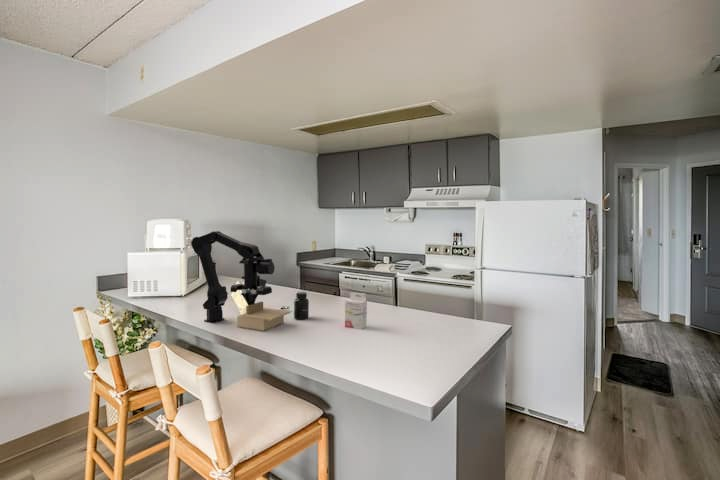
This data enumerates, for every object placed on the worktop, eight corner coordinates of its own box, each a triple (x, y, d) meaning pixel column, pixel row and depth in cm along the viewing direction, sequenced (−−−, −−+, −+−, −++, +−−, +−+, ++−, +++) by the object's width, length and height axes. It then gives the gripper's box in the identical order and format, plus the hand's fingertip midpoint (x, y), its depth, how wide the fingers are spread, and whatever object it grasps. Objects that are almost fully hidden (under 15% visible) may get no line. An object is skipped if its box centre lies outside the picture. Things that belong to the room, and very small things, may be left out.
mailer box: (237, 327, 161) (237, 316, 160) (258, 319, 174) (258, 308, 173) (263, 331, 155) (263, 319, 155) (283, 322, 168) (283, 311, 168)
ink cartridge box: (344, 327, 162) (344, 293, 161) (349, 324, 167) (349, 291, 166) (362, 329, 158) (362, 295, 158) (367, 326, 163) (367, 293, 162)
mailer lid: (242, 316, 159) (242, 307, 159) (264, 309, 172) (264, 300, 172) (270, 320, 153) (270, 311, 153) (291, 312, 166) (290, 303, 166)
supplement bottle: (305, 320, 172) (305, 294, 171) (291, 319, 173) (291, 294, 172) (310, 316, 179) (310, 291, 178) (297, 315, 180) (297, 291, 179)
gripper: (279, 272, 169) (279, 306, 170) (246, 269, 176) (246, 302, 177) (263, 276, 158) (264, 312, 159) (229, 273, 166) (230, 307, 167)
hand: (251, 308), depth 166 cm, fingers closed
